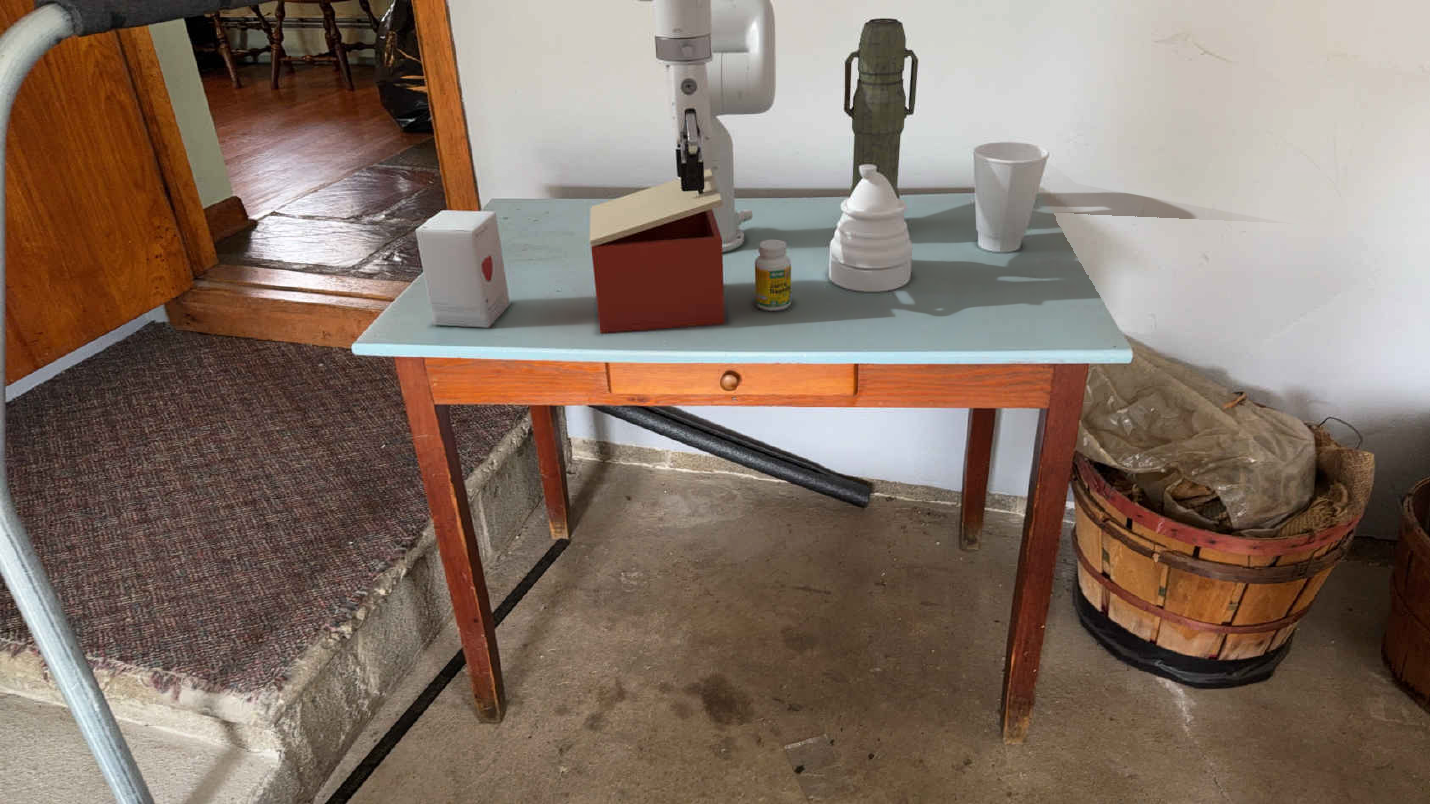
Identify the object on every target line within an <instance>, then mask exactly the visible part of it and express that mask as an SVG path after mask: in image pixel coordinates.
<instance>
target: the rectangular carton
mask: <svg viewBox="0 0 1430 804" xmlns="http://www.w3.org/2000/svg"><path fill="white" fill-rule="evenodd" d="M497 218H498V217H497V211H489V210H487V211H485V210H449V209H445V210H441V211H439V212H437V214H435V215H434V216H432V217H430V218H428V219H427V220H426V222H423V223H422V225H420V226H418V228H416V229H415V234H416V241H417V245H418V251H419V256H420V261H421V266H422V272H423V277H424V280H425V281H424V282H425V287H426V292H427V298H428V302H429V308H430V312H431V319H432V323H433V325H434V326H450V327H468V328H469V327H470V328H485V329H488V328H490V327H491V326H492V324H493V323H495V322H496V320H498V318H499V317H500V316H501V315H502V314H503V312H504V311H505V310H506V309H507V308H508V307H509V306H510V297H509V291H508V290H509V289H508V282H507V276H506V270H505V264H504V257H503V252H502V245H501V238H500V231H499V224H498V219H497Z"/></svg>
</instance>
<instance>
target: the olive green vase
mask: <svg viewBox="0 0 1430 804" xmlns="http://www.w3.org/2000/svg"><path fill="white" fill-rule="evenodd" d="M906 44H907V37H906V33H905V29H904V25H903V22H901V21H899V20H898V19H896V18H887V17H885V18H871V19H869V20H868V21H867V22H864V24H863V27H862V30H861V33H860V38H859V43H858V49H857V50H854V51H851V52H850V54H849V55H848V56H847V58H845V60H844V97H843V99H844V100H843V111H844V113H845V114H846V115H847V116H848V117H850V118H851V129H852V133H853V155H852V156H853V157H852V159H853V160H852V161H853V162H852V182H851V183H852V184H851V186H850V189H849V195H848V198H850V196H851V194H852V193H853V191H854V189H855V188H856V186H857V185H858V183H859V182H860V181H861V180H862V176H861V174H860V171H859V166H861V165H865V164H870V165H875V166H877V168H876V172H878V173H880V174H882V175H883V176H884V177H886V179H887V180H888V181H889V183H890V184H891V186H892V188H893V190H894V192H895V194H896V197H897V198H898V199H900V198H901V197H900V193H899V189H898V183H899V182H898V180H899V166H900V165H899V164H900V153H901V152H900V151H901V150H900V149H901V137H902V136H901V135H902V133H903V131H904V129H905V120H906V119H907V117H908V116H912V115H914V113H915V105H916V97H917V96H916V95H917V84H918V83H917V81H918V68H919V59H918V57H917V55H916V54H915V51H913V49H908V48H907V47H906V46H907V45H906ZM909 57H910V58H911V63H910V66H911V67H910V80H909V93H908V95H909V96H908V107H907V106H906V103H907V96H906V92H905V88H904V78H903V75H904V71H905V64H906V63H905V62H906V61H905V60H906V59H908V58H909ZM855 58H857V59H858V60H857V72H858V78H857V79H856V81H857V82H856V88H855V92H854V94H853V97H852V106H851V92H852V89H851V88H852V87H851V86H852V64H853V61H854V59H855ZM900 200H901V199H900Z"/></svg>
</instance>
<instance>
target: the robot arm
mask: <svg viewBox="0 0 1430 804" xmlns="http://www.w3.org/2000/svg"><path fill="white" fill-rule="evenodd" d="M637 1H639V2H652V13H653V28H654V44H655V63H657V64H659V65H665V77H666V78H665V79H666V80H665V81H666V92H667V103H668V112H669V120H670V124H671V129H672V132H673V136H674V138H675V145H676V148H675V159H676V176H677V179H680V178H681V189H682V191H684V192H686V191H700V190H704V188H705V186H704V171H705V170H708V169H710V170H711V172H712V175H713V178H714V180H715V183H716V186H717V188H718V191H719V194H720V196H721V199H722V202H723V205H722V206H719V207H716V208H713V209H712V210H713V213H714V216H715V219H716V222H717V225H718V228H719V231H720V234H721V237H722V253H725V252H730V251H732V250H735V249H737V248H739V247H740V246H742V245H743V243H745V234H744V231H743V230H741V229H739V228H740V226H741V225H742V223H745V222H748V221H750V220H752V218H753V212H752V211H751V210H750V209H748V208H747V209H744V210H741V211H739V212H738V211H736V210H735V208H736V207H735V172H734V171H735V169H734V168H735V167H734V166H735V165H734V142H733V139H732V136H731V134H730V132H729V130H728V129H727V128H726V127H725V125H724V124H723V123H722V122H721V120H720V118H718V117H720V116H731V115H732V116H734V115H735V116H737V115H738V116H739V115H758V114H759V115H760V114H764V113H766V112H768V111H770V109H771V108H772V106H773V105H774V103H775V102H774V101H775V97H776V87H777V86H776V85H777V73H776V72H777V71H776V69H777V67H776V66H777V65H776V61H777V59H776V57H777V56H776V17H775V11H774V7H773V4H772V2H771V0H637Z"/></svg>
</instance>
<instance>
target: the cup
mask: <svg viewBox="0 0 1430 804" xmlns="http://www.w3.org/2000/svg"><path fill="white" fill-rule="evenodd" d="M972 154H973V173H974V175H973V177H974V203H975V204H974V205H975V231H976V232H977V245H978V247H979V248H981V249H983V250H985V251H988V252H993V253H1012V252H1015V251H1017V250H1019V249H1020V248H1021V245H1022V240H1023V237H1024V235H1026V232H1027V229H1028V227H1029V223H1030V219H1031V216H1032V213H1033V209H1034V207H1035V206H1034V205H1035V202H1036V199H1037V196H1038V192H1039V189H1040V185H1041V182H1042V178H1043V175H1044V171H1045V169H1046V165H1047V161H1048V158H1049V157H1050V152H1049V150H1047V149H1046V148H1044V147H1041V146H1039V145H1035V144H1030V143H1025V142H1016V141H1015V142H1013V141H999V142H989V143H984V144H981V145H978V146H976V147H974V149H973V151H972Z"/></svg>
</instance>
